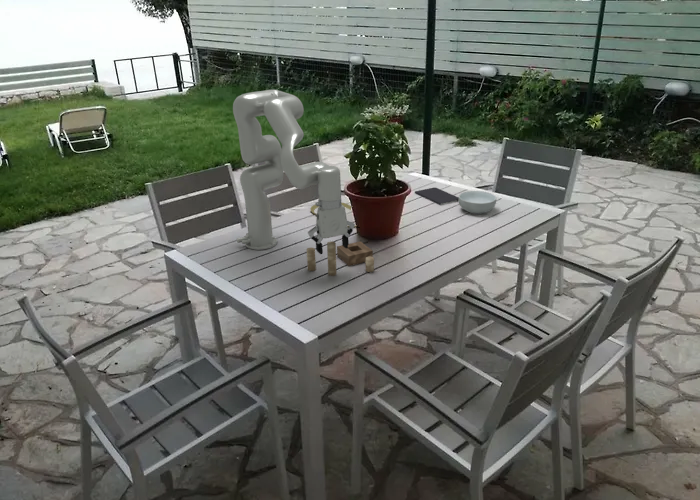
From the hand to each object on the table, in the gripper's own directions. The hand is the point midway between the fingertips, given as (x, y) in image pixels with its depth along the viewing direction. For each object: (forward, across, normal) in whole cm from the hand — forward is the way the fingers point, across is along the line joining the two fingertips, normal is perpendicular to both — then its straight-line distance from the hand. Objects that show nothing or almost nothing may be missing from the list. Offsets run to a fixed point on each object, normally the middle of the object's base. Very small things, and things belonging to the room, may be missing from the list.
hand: (332, 249), depth 193 cm
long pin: (+10, 0, +1) cm, 10 cm away
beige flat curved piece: (+9, +28, +53) cm, 60 cm away
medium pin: (+9, -5, +8) cm, 13 cm away
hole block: (+10, +13, +9) cm, 18 cm away
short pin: (+10, +13, -3) cm, 16 cm away
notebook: (+10, +81, +53) cm, 97 cm away
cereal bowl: (+10, +85, +28) cm, 90 cm away
